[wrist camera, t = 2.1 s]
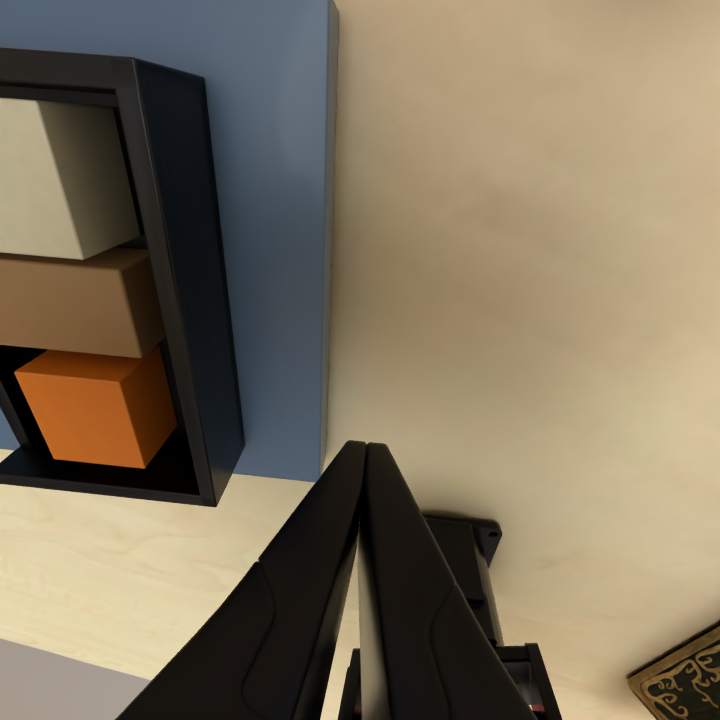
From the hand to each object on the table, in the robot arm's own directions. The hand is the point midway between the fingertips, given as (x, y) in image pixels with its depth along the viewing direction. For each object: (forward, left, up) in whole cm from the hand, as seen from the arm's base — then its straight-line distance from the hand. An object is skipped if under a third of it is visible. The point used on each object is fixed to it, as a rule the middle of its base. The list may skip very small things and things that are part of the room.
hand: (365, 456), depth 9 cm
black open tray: (0, +10, -7) cm, 12 cm away
